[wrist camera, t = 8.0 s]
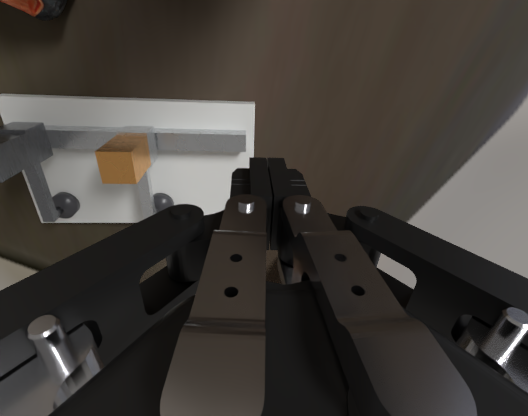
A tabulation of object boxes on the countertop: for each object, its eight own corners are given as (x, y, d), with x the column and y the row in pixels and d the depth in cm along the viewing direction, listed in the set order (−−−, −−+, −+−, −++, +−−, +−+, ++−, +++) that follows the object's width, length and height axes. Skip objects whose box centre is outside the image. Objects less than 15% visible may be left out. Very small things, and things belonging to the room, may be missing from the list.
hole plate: (3, 93, 33) (-15, 97, 31) (254, 102, 35) (255, 106, 33) (47, 216, 41) (35, 227, 39) (251, 217, 43) (252, 227, 41)
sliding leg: (126, 124, 32) (93, 148, 25) (154, 125, 33) (130, 148, 25) (142, 213, 38) (119, 254, 31) (166, 213, 38) (149, 254, 31)
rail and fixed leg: (10, 117, 33) (-73, 144, 24) (245, 123, 35) (247, 151, 26) (43, 206, 38) (-16, 255, 30) (244, 207, 40) (245, 253, 32)
